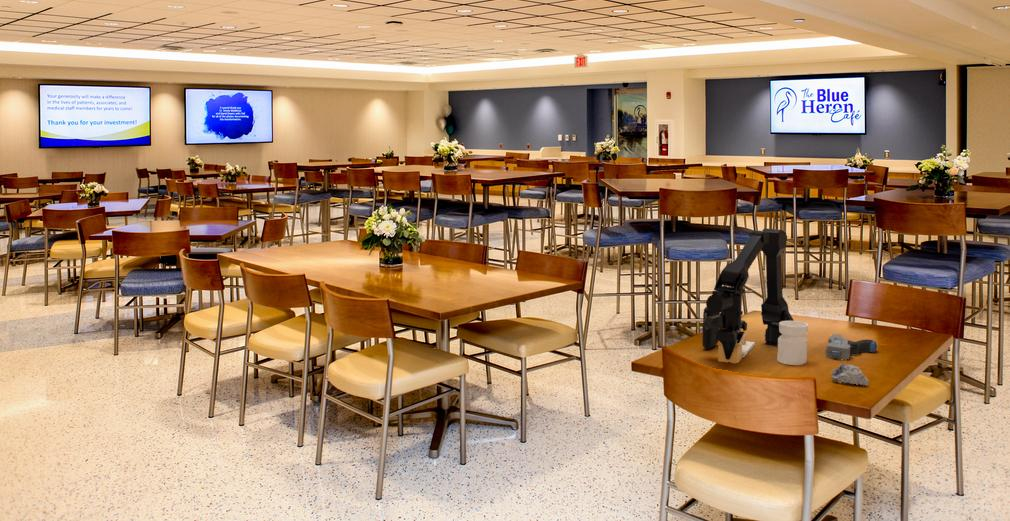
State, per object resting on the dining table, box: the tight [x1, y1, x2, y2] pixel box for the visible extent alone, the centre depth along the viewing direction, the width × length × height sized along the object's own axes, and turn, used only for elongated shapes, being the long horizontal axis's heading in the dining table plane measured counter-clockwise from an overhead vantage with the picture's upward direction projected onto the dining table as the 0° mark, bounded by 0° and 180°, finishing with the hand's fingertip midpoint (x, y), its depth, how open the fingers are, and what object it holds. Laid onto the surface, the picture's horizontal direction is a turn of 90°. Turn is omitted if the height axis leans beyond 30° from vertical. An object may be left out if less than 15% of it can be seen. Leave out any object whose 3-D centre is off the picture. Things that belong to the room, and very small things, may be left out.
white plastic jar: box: [776, 320, 809, 366], centre depth 267 cm, size 9×9×12 cm
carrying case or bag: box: [701, 306, 721, 350], centre depth 282 cm, size 11×3×15 cm, turn 145°
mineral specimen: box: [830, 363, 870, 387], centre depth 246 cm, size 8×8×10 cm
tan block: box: [717, 342, 743, 364], centre depth 269 cm, size 6×6×5 cm
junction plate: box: [740, 332, 756, 358], centre depth 281 cm, size 8×17×4 cm, turn 153°
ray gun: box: [825, 333, 878, 361], centre depth 276 cm, size 4×19×15 cm
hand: (730, 356), depth 269 cm, fingers closed on tan block, 6 cm apart
